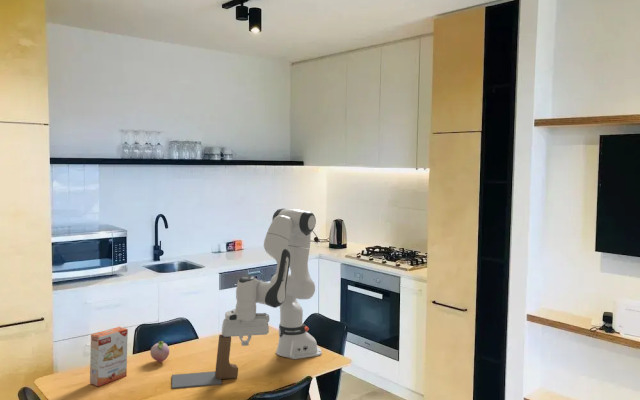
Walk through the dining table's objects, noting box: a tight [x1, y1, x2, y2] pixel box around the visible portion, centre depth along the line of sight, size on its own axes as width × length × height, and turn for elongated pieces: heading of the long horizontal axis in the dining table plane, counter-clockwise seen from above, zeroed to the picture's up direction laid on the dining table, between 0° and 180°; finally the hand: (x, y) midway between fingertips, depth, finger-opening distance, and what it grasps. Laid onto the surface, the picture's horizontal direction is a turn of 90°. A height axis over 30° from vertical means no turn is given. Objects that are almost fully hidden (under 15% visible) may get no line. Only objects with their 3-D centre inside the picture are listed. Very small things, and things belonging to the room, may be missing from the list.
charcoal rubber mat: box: [171, 370, 223, 390], centre depth 215 cm, size 20×13×1 cm, turn 106°
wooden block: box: [215, 334, 239, 380], centre depth 218 cm, size 9×4×18 cm, turn 112°
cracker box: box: [89, 326, 129, 387], centre depth 212 cm, size 14×6×21 cm, turn 148°
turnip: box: [150, 340, 170, 363], centre depth 234 cm, size 9×8×10 cm
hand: (245, 345), depth 220 cm, fingers closed
